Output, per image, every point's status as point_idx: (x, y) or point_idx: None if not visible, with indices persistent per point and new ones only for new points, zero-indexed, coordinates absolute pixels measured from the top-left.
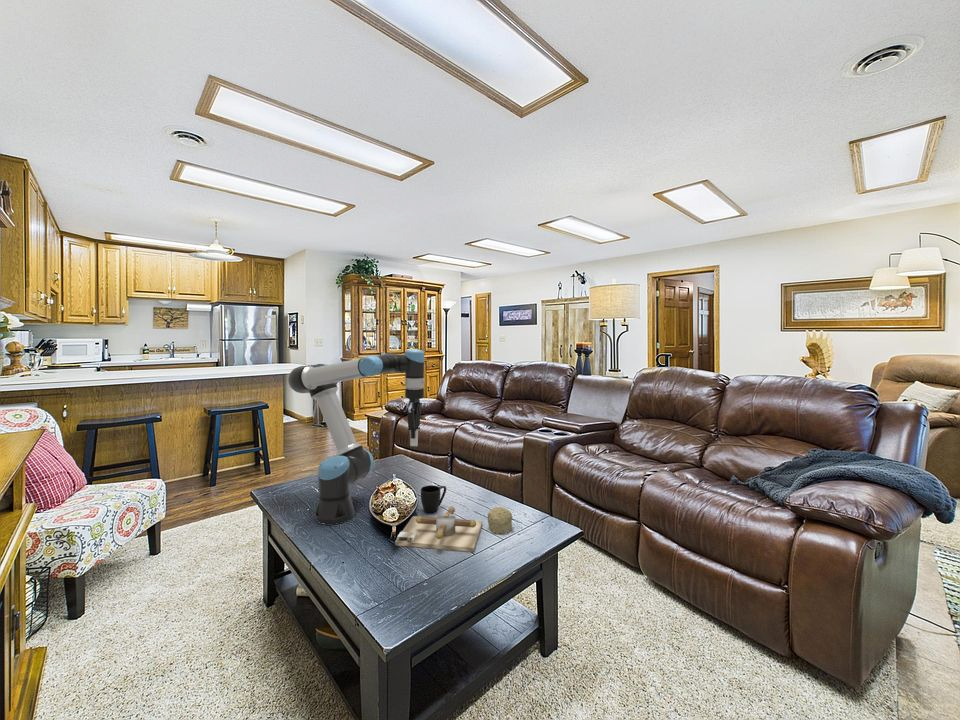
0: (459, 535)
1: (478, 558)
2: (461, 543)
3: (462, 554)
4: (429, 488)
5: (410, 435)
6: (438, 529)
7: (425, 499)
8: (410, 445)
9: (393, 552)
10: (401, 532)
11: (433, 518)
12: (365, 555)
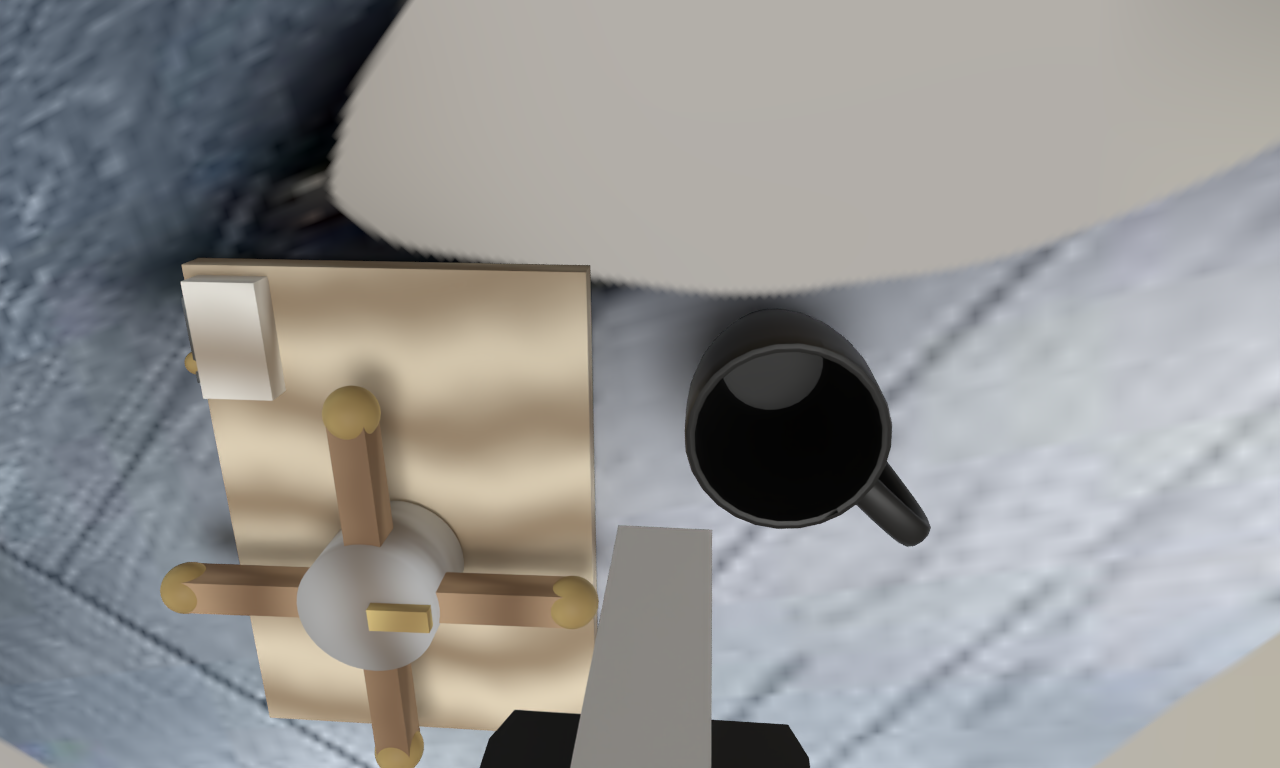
0: None
1: (233, 724)
2: (294, 655)
3: (241, 651)
4: (870, 399)
5: (579, 734)
6: (214, 585)
7: (690, 385)
8: (618, 538)
9: (118, 276)
10: (242, 293)
11: (358, 523)
12: (14, 100)
